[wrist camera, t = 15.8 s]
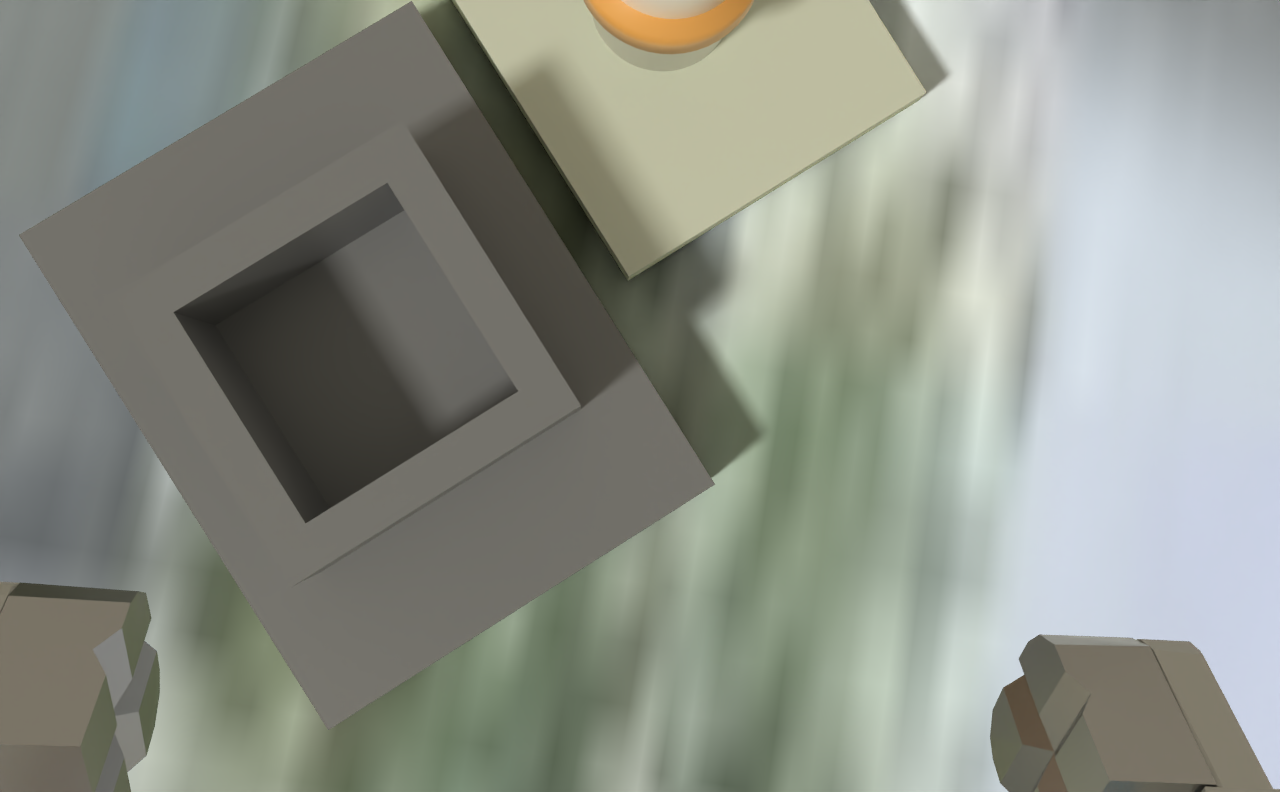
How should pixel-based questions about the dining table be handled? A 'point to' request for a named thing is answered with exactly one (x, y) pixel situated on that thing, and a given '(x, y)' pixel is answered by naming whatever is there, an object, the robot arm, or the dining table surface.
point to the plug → (665, 29)
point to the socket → (367, 363)
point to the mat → (692, 110)
